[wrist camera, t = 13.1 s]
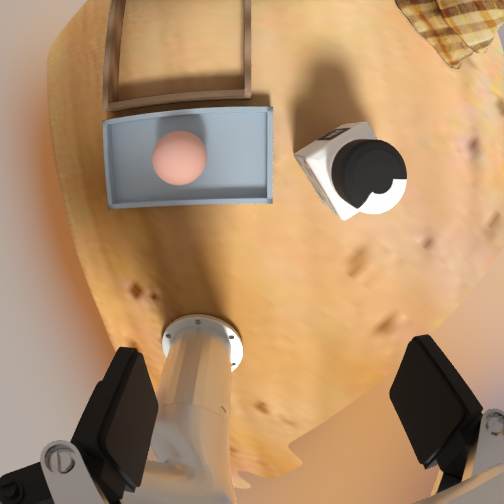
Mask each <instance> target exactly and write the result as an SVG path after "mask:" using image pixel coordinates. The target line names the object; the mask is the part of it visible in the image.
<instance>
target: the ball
mask: <svg viewBox="0 0 504 504" xmlns="http://www.w3.org/2000/svg"><path fill="white" fill-rule="evenodd" d="M206 163H207V151H206V148H205V145H204V144H203V142H202V141H201V139H200V138H199V137H197V136H196V135H194V134H193V133H190V132H187V131H174V132H171V133H169V134H167V135H165V136H164V137H162V138H161V139H160V140H159V141H158V143H157V144H156V146H155V148H154V150H153V155H152V164H153V167H154V170H155V172H156V174H157V175H158V176H159V177H160V178H161V179H162V180H163V181H165V182H167V183H169V184H173V185H184V184H188V183H190V182H192V181H194V180H195V179H197V178H198V177H199V176H200V175H201V173H202V172H203V170H204V168H205V166H206Z"/></svg>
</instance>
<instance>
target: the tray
mask: <svg viewBox="0 0 504 504" xmlns="http://www.w3.org/2000/svg"><path fill="white" fill-rule="evenodd" d="M174 131H187V132H190V133H193V134H194V135H196V136H197V137H199V138H200V139H201V141H202V142H203V144H204V145H205V148H206V151H207V163H206V166H205V168H204V170H203V172H202V173H201V175H200V176H199V177H198V178H197V179H195V180H194V181H192V182H190V183H188V184H184V185H173V184H169V183H167V182H165V181H163V180H162V179H161V178H160V177H159V176H158V175H157V174H156V172H155V170H154V167H153V164H152V155H153V150H154V148H155V146H156V144H157V143H158V141H159V140H160V139H161V138H162V137H164V136H165V135H167V134H169V133H171V132H174ZM103 148H104V166H105V179H106V190H107V199H108V208H109V209H122V208H137V207H155V206H177V205H205V204H260V203H272V200H273V107H214V108H197V109H184V110H173V111H163V112H155V113H147V114H140V115H133V116H126V117H120V118H115V119H109V120H104V121H103Z"/></svg>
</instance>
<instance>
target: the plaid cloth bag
mask: <svg viewBox="0 0 504 504" xmlns="http://www.w3.org/2000/svg"><path fill="white" fill-rule="evenodd" d="M396 2H397V4H398V6H399V8H400V9H401V10H402V12H403V13H404V14H405V15H406V16H407V18H408V19H409V20H410V22H411V23H412V24H413V26H414V27H415V28H416V30H417V31H418V32H419V33H420V34H421V35H422V36H423V37H424V38H425V39H426V40H427V41H428V42H429V43H430V44H431V45H432V46H433V47H434V48H435V49H436V50H437V51H438V53H439V54H440V55H441V57H442V58H443V59H444V60H445V62H446V63H447V64H448V65H449V66H450V67H451V68H455V69H459V68H460V66H461V63H462V62H463V61H464V60H465V59H467V58H468V57H469V56H470V55H472V53H473V52H474V51H475V52H476V53H486V50H487V49H488V47H489V45H490V43H491V42H492V40H493V38H494V36H495V34H496V32H497V30H498V29H499V28H500V26H501V25H502V24H503V23H504V0H397V1H396Z"/></svg>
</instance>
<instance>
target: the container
mask: <svg viewBox="0 0 504 504" xmlns="http://www.w3.org/2000/svg"><path fill="white" fill-rule="evenodd" d="M294 157H295V159H296V160H297V162H298V164H299V165H300V167H301V168H302V170H303V171H304V173H305V175H306V176H307V178H308V179H309V181H310V183H311V184H312V186H313V188H314V189H315V191H316V192H317V194H318V196H319V197H320V199H321V201H322V203H323V204H324V205H325V206H326V207H327V208H328V209H330V210H331V211H332V212H333V213H334V214H336V215H337V216H338V217H339V218H340V219H342V220H347V219H348V218H350V217H351V216H353V215H354V214H356V213H357V212H359V211H362V212H364V213H368V214H379V213H383V212H385V211H388V210H389V209H391V208H392V207H393V206H395V205H396V204H397V202H398V201H399V200H400V198H401V197H402V195H403V193H404V190H405V187H406V182H407V172H406V166H405V163H404V160H403V158H402V156H401V155H400V153H399V152H398V151H397V150H396V149H395V148H394V147H393V146H392V145H390V144H389V143H387V142H384V141H382V140H378V139H377V137H376V136H375V134H374V132H373V130H372V128H371V127H370V125H369V123H368V122H366V121H365V122H357V123H349V124H343V125H340V126H339V127H337V128H335V129H334V130H332V131H330V132H328V133H327V134H325V135H323V136H322V137H320V138H318V139H317V140H315V141H314V142H312V143H310V144H309V145H307V146H305V147H304V148H302V149H301V150H299V151H297V152H296V153H295V154H294Z"/></svg>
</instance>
